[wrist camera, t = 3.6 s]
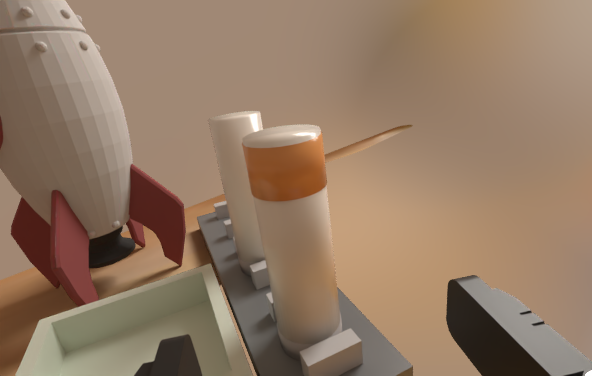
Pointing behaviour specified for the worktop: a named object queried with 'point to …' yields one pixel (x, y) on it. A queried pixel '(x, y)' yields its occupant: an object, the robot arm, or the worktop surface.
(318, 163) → the cylinder
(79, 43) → the toy
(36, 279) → the worktop surface
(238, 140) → the cylinder
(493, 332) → the robot arm
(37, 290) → the worktop surface
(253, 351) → the holder
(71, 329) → the tray
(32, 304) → the worktop surface
